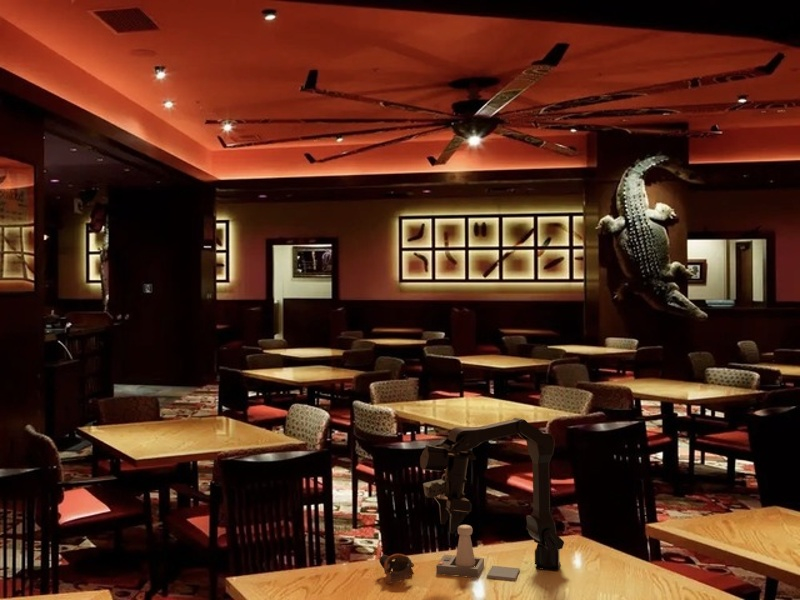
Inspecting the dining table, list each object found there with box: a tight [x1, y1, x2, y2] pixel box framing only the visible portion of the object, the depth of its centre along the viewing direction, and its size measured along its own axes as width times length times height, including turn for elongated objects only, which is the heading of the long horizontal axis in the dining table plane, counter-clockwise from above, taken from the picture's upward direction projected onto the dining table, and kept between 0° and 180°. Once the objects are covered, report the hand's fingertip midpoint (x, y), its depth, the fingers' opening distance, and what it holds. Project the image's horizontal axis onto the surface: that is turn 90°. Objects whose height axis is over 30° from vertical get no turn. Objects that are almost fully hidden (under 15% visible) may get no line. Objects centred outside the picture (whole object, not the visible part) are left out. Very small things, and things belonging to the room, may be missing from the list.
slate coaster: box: [486, 565, 520, 582], centre depth 225 cm, size 8×8×1 cm
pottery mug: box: [379, 553, 415, 586], centre depth 222 cm, size 12×10×8 cm
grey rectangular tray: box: [435, 554, 485, 579], centre depth 229 cm, size 12×10×3 cm
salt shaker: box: [455, 524, 475, 568], centre depth 229 cm, size 6×6×13 cm
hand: (447, 528), depth 221 cm, fingers open, 9 cm apart
